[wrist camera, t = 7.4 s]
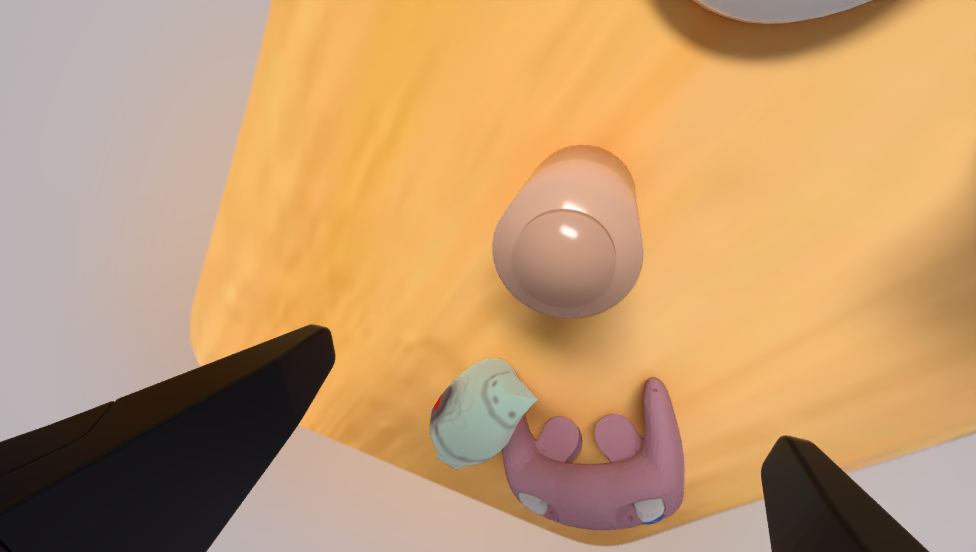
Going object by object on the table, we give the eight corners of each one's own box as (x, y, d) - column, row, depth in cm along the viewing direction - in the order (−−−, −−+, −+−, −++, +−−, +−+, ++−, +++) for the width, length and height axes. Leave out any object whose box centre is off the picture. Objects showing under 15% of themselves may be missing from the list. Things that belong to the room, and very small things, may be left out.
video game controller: (520, 407, 27) (515, 525, 23) (493, 383, 24) (481, 515, 20) (675, 399, 23) (701, 540, 19) (667, 369, 20) (695, 531, 16)
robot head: (489, 413, 26) (453, 512, 21) (438, 378, 26) (388, 469, 20) (562, 344, 22) (542, 445, 16) (502, 302, 22) (460, 390, 16)
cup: (622, 256, 18) (624, 341, 13) (522, 240, 20) (484, 312, 14) (648, 151, 16) (663, 200, 11) (532, 139, 17) (491, 178, 12)
